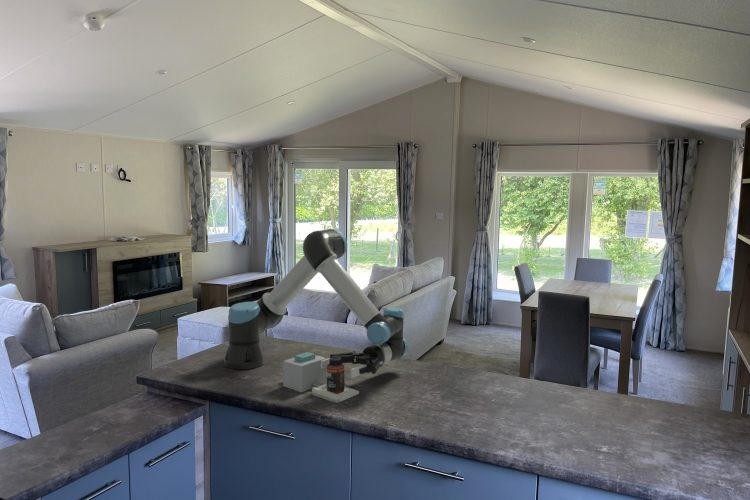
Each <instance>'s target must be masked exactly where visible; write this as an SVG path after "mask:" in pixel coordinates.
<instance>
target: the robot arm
mask: <svg viewBox="0 0 750 500" xmlns="http://www.w3.org/2000/svg"><path fill="white" fill-rule="evenodd" d="M347 250H348V241H347V238H346V236H345V235H344V234H343V232H341V231H340V230H338V229H334V228H328V229H322V230H314V231H312V232H310V233H308V234H307V235H306V237H305V238H304V240H303V243H302V252H303V256H302V257H301V258H300V259H299V260H298V261H297V263H296V264H295V265H294V266H292V268H291V269H290V270H289V271H288V273H287V274H286V275H284V277H283V278H282V279H281V281H280V282H278V284H276V286H274V288H273V289H272V290H271V291H270V292H265V293H264V294H262V296H261V297H260V298H259V299H258V300H257V301H243V302H238V303H235V304H232V305H231V307H230V308H229V310H228V314H227V315H228V316H227V318H228V346H227V349H226V353H225V355H224V359H223V362H224V366H225V367H226V368H228V369H231V370H250V369H255V368H260V367H261V366H263V365H264V364H265V356H264V353H263V350H262V346H261V343H260V338H261V337H260V333H262V332H264V331H267V330H269V329H273V328H275V327H277V325H278V326H279V324H280V323H281V322H282V320H283V318H284V315H285V314H286V313H287V306H288V305H289V304H290V303H291V302H292V301H293V300H294V299H295V298H296V297H297V296H298V295H299V294H300V292H301V291H302V290H303V289H304V288H305V287H306V286H307V285H308V284H309V283H310V282H311V280H313V279H314V277H316V275H318V273H319V274H321V276H322V277H323V279H325V280H326V281H327V283H328V284H329V285H330V286H331V287H332V289H333V290H334V291H335V293H337V295H338V296H339V297H340V298H341V300H342V302H344V304H345V305H346V306H347V308H348V309H349V310H350V311H351V312H352V313H353V314H354V317H356V318H357V319H358V321H359V322H360V323H361V325H362V326H363V327H364V328H365V329H366V336H367V340H368V341H369V343H372V344H373V345H370V346H366V347H365V348H364V350H363V351H362V352H359V353H356V351H354V350H352V351H350V352H341V353H340V352H339V353H334V354H333V353H331V354H330V355H329V357H328V358H326V359H325V360H322V361H321V369H324V368H326V369H327V365H328V364H329V363H330V362H329V361H330V360H329V359H330V358H331V357H341V361H342V362H341V363H342V364H352V365H357V364H358V365H359V366H356V367H353V368H350V378H352V379H353V378H356V377H358V376H361V375H363V374H370V373H371V374H373V375H375V374H376V373H377V371H378V370H379V369H380V368H381V367H383V365H385V364H387V363H389V362H392V361H396V360H399V359H401V358H403V357H404V356H406V355H407V354H408V352H409V344H408V341H407V340H406V339H405V338H404V319H405V317H404V310H403V309H402V308H400V307H386V308H384V310H383V314H382V313H381V312H380V311H379V309H378V308H377V307H376V306H375V305H374V303H373V302H372V301H371V299H370V298H369V297H368V296H367V295H366V293H365V292H364V291H363V290H362V289H361V288H360V286H359V285H358V284H357V283H356V281H355V280H354V279H353V277H352V276H351V275H350V274H349V273H348V272H347V270H346V269H345V268H344V267H343V265H342V264H341V263H340V262H339V261H338V259H341V257H343V256H344V255H345V254H346V252H347Z"/></svg>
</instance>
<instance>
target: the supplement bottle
mask: <svg viewBox="0 0 750 500" xmlns="http://www.w3.org/2000/svg"><path fill="white" fill-rule="evenodd" d="M329 358H330V357H329ZM329 360H330V361H329V362H330V363H329V364H328V365H327V368H326V383H327V391H329V392H332V393H335V394H339V393H341V392H344V388H345V387H346V386H345V385H346V384H345V364H344V363H341V362H342V361H341V357H331V358H330V359H329Z"/></svg>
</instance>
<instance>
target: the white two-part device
mask: <svg viewBox="0 0 750 500" xmlns="http://www.w3.org/2000/svg"><path fill="white" fill-rule="evenodd" d="M325 359H327V357H324V356H320V355H316V354H315V353H312V352H308V351H306V352H302V353H300V354H296V355H294V357H292V358H288V359H285V360H283V361H282V363H283V365H282V366H283V367H282V368H283V371H282V375H283V377H282V378H283V380H282V381H283V382H282V383H283V384H282V386H283V387H285V388H288V389H291V390H294V391H296V392H300V393H304V392H306V391H309V390H311V395H312V396H314V397H317V398H320V399H323V400H326V401H329V402H331V403H335V404H339V403H341V402H343V401H345V400H348V399H350V398H352V397H355V396H357V395H359V394H360V390H358V389H354V388H351V387H348V386H345V388H344V392H341V393H339V394H335V393H332V392H329V391H327V368H324V369H321V361H322V360H325Z"/></svg>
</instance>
